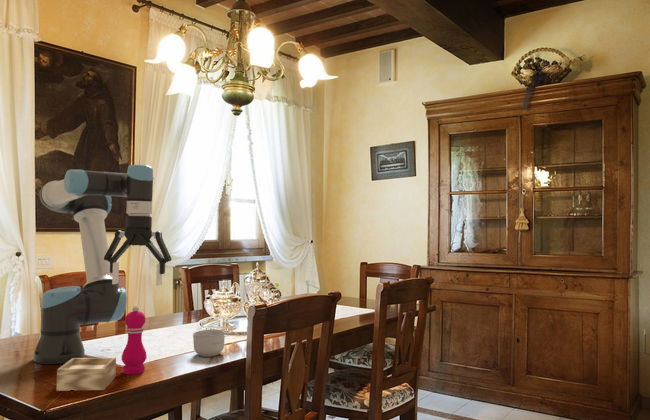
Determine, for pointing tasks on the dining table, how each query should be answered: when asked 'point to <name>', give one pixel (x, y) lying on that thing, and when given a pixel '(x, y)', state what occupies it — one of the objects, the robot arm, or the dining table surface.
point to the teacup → (208, 342)
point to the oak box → (86, 374)
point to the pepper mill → (134, 343)
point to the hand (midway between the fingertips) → (137, 284)
